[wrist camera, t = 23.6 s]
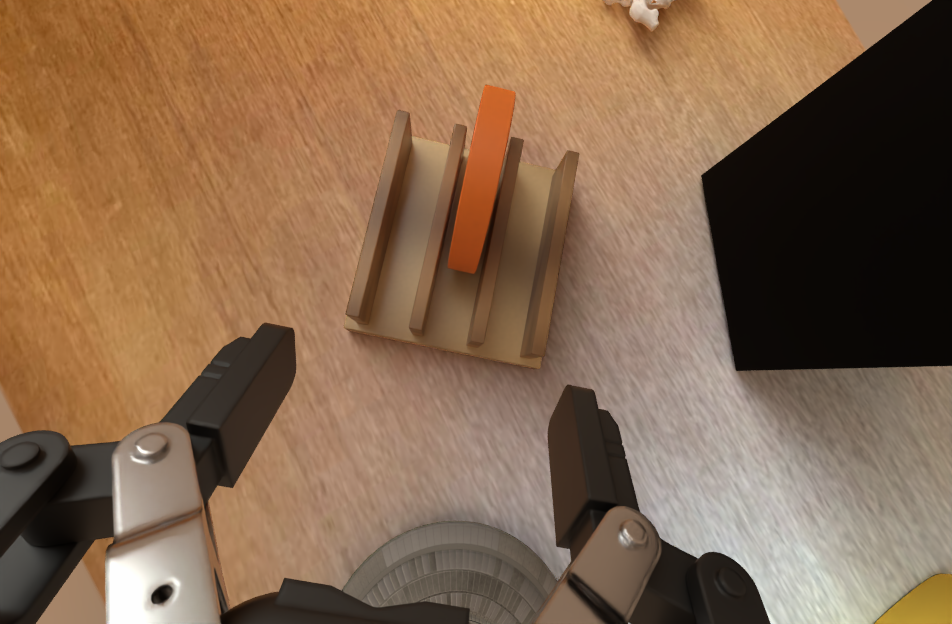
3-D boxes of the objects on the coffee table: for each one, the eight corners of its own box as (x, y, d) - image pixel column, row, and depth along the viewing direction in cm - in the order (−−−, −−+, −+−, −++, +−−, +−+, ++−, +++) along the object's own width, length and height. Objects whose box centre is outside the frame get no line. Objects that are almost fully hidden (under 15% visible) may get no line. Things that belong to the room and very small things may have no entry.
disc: (440, 301, 26) (465, 162, 18) (465, 192, 31) (493, 48, 23) (466, 307, 26) (504, 171, 18) (487, 197, 32) (522, 56, 23)
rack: (535, 369, 30) (554, 367, 25) (347, 330, 29) (330, 321, 24) (567, 183, 32) (591, 148, 27) (394, 142, 31) (387, 98, 26)
